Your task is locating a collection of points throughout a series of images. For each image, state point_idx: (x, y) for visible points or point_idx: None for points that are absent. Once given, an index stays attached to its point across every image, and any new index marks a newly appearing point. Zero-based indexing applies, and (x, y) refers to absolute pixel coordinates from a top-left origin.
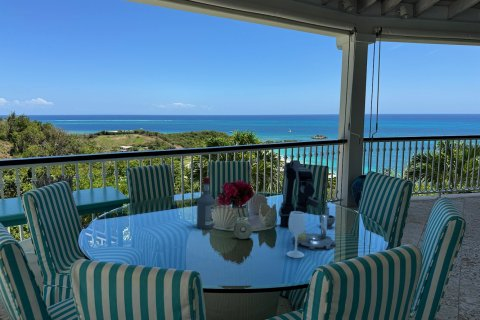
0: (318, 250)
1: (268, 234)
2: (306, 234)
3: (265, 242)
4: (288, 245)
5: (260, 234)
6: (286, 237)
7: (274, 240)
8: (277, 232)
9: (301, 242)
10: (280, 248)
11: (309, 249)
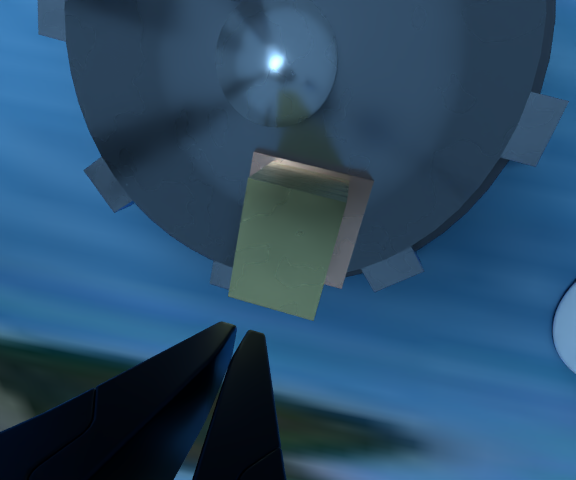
0: (548, 47)
1: None
2: (120, 124)
3: (304, 458)
4: (367, 323)
5: None
6: (155, 296)
7: None
8: (51, 337)
9: (419, 238)
10: (447, 397)
11: None
